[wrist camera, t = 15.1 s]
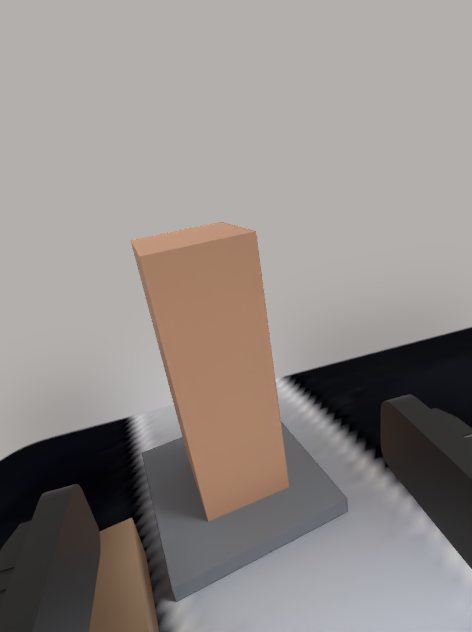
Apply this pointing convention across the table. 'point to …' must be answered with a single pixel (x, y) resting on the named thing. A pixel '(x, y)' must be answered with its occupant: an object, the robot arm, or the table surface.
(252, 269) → the terracotta block
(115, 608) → the walnut pocket block
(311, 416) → the table surface
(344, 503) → the slate pad
